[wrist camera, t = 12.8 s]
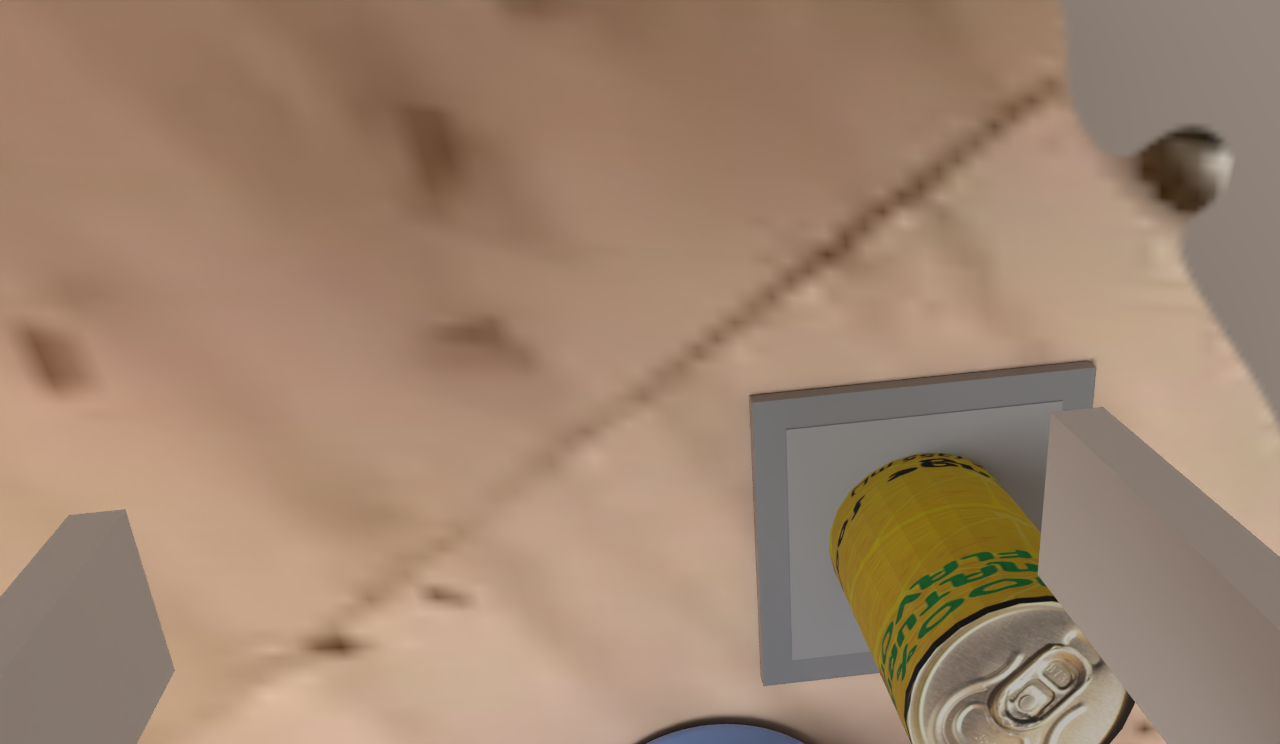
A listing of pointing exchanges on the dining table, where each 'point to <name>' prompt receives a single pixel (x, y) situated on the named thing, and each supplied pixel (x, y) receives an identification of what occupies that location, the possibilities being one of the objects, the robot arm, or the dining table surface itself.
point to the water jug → (725, 735)
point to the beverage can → (966, 611)
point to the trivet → (853, 448)
